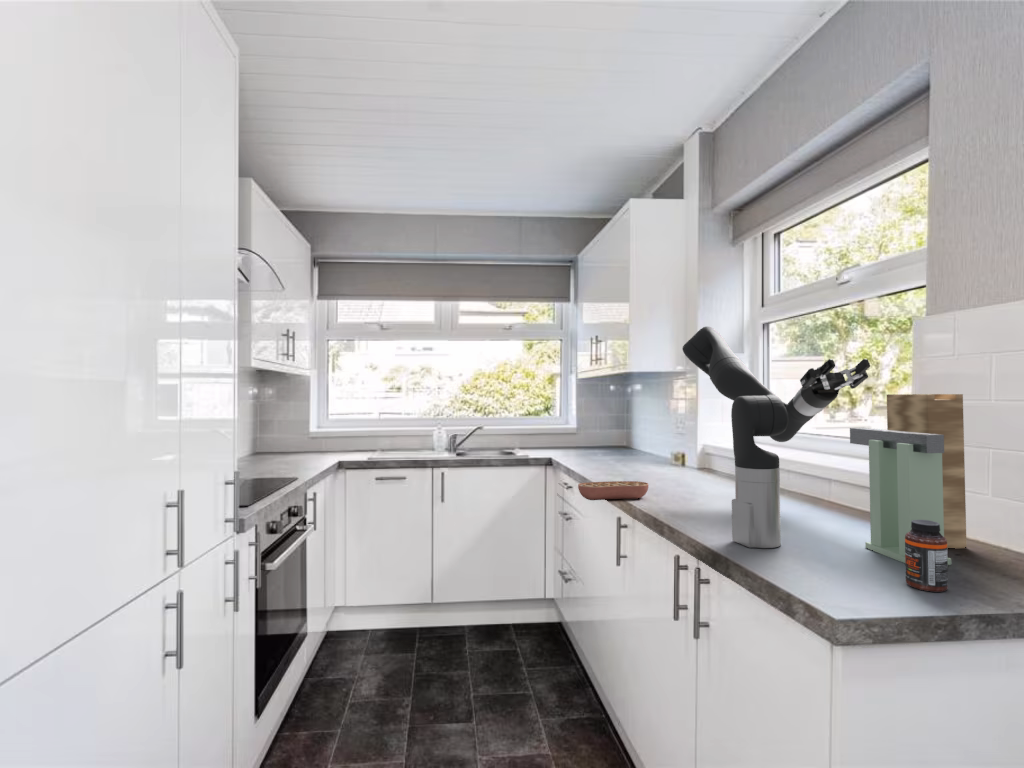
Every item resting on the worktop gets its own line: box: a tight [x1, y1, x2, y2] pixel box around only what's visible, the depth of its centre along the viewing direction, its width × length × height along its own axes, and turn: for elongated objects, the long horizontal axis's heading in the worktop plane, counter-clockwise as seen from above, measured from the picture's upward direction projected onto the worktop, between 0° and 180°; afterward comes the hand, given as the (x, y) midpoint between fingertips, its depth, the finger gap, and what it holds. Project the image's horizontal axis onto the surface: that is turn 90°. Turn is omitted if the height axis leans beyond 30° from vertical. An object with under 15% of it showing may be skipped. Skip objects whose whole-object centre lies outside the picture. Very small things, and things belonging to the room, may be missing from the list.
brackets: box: [864, 440, 952, 566], centre depth 115 cm, size 13×8×24 cm, turn 4°
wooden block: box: [886, 393, 968, 550], centre depth 126 cm, size 12×8×33 cm, turn 4°
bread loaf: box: [577, 480, 649, 501], centre depth 180 cm, size 23×10×5 cm, turn 96°
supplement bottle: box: [904, 520, 949, 593], centre depth 97 cm, size 6×6×11 cm
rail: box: [849, 427, 944, 453], centre depth 118 cm, size 22×4×4 cm, turn 4°
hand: (850, 362), depth 131 cm, fingers open, 8 cm apart
